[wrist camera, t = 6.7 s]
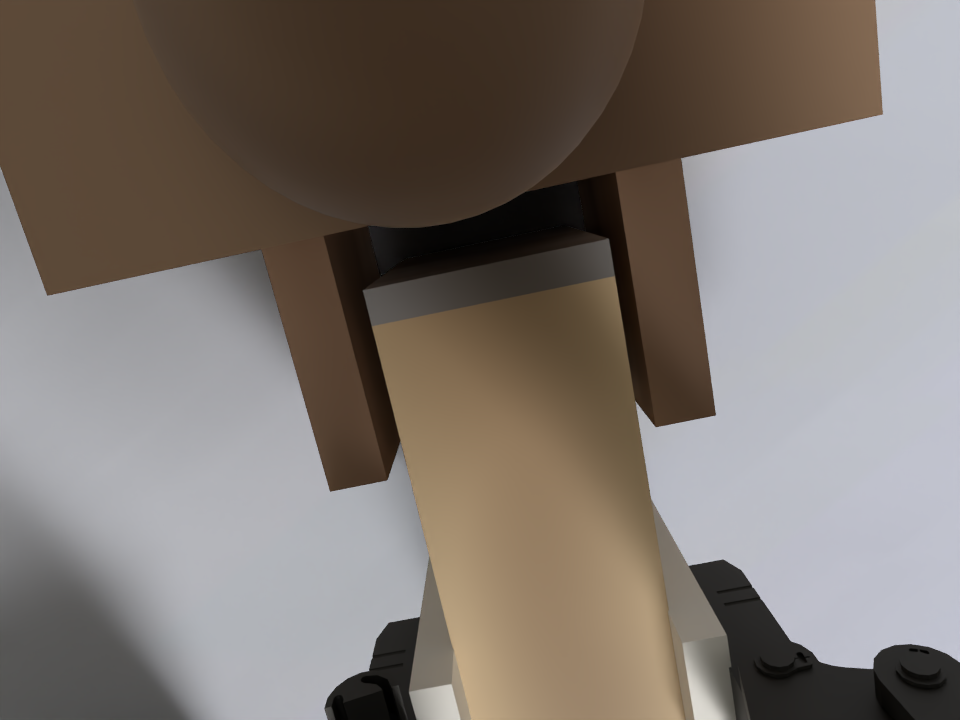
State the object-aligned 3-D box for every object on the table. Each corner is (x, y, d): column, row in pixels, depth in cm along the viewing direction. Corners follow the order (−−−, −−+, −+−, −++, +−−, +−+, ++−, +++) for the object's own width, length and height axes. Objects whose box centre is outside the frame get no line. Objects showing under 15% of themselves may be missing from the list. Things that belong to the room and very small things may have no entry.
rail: (524, 768, 20) (541, 1001, 14) (405, 258, 17) (363, 290, 11) (655, 746, 20) (727, 973, 14) (564, 224, 16) (609, 238, 11)
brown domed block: (369, 414, 18) (21, 1088, 4) (290, 112, 17) (-727, -363, 3) (652, 357, 18) (1245, 898, 4) (603, 41, 16) (1373, -965, 2)
